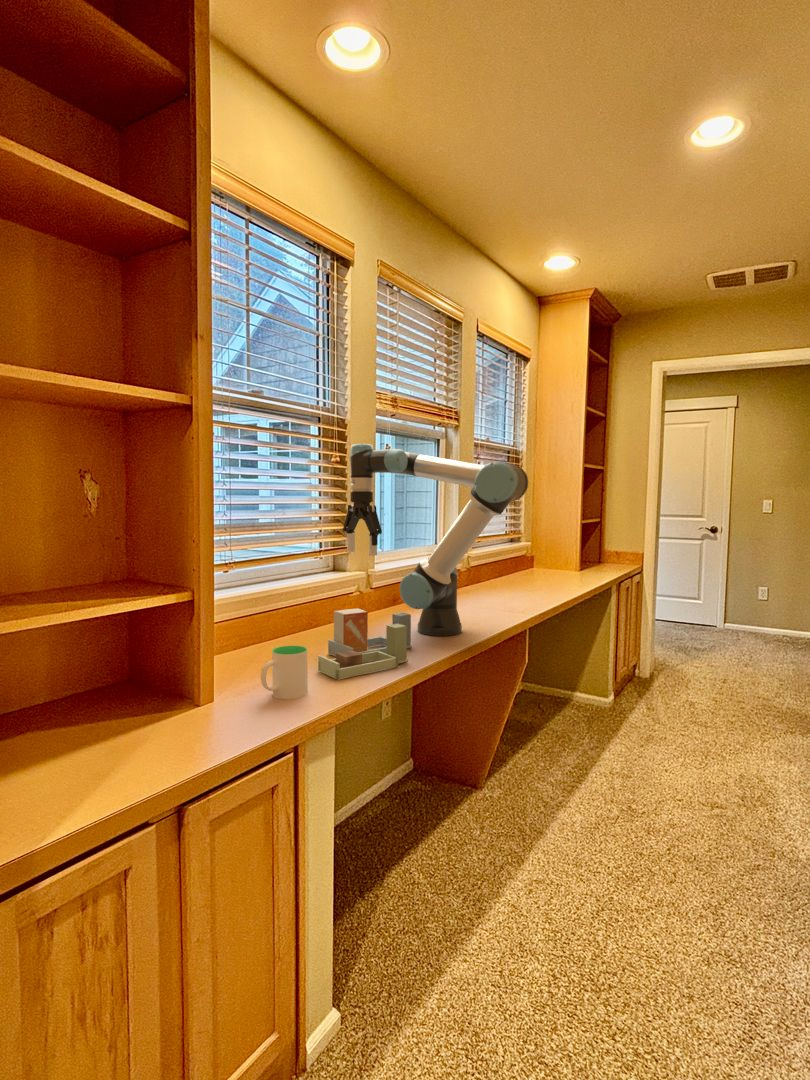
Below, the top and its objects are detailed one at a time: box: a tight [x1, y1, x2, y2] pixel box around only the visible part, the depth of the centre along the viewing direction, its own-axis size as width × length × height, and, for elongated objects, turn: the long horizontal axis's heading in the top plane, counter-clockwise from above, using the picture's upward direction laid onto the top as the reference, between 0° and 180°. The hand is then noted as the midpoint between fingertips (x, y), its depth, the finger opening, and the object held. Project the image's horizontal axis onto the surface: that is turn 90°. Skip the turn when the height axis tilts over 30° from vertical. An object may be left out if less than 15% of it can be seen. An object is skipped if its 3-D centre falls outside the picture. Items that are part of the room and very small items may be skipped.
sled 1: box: [327, 612, 413, 657], centre depth 176 cm, size 24×13×10 cm, turn 127°
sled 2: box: [317, 623, 409, 680], centre depth 160 cm, size 24×10×10 cm, turn 127°
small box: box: [333, 607, 369, 652], centre depth 174 cm, size 8×6×13 cm
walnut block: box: [335, 650, 363, 668], centre depth 157 cm, size 5×5×5 cm
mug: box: [260, 645, 309, 700], centre depth 138 cm, size 12×8×10 cm, turn 144°
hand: (361, 553), depth 202 cm, fingers open, 13 cm apart
